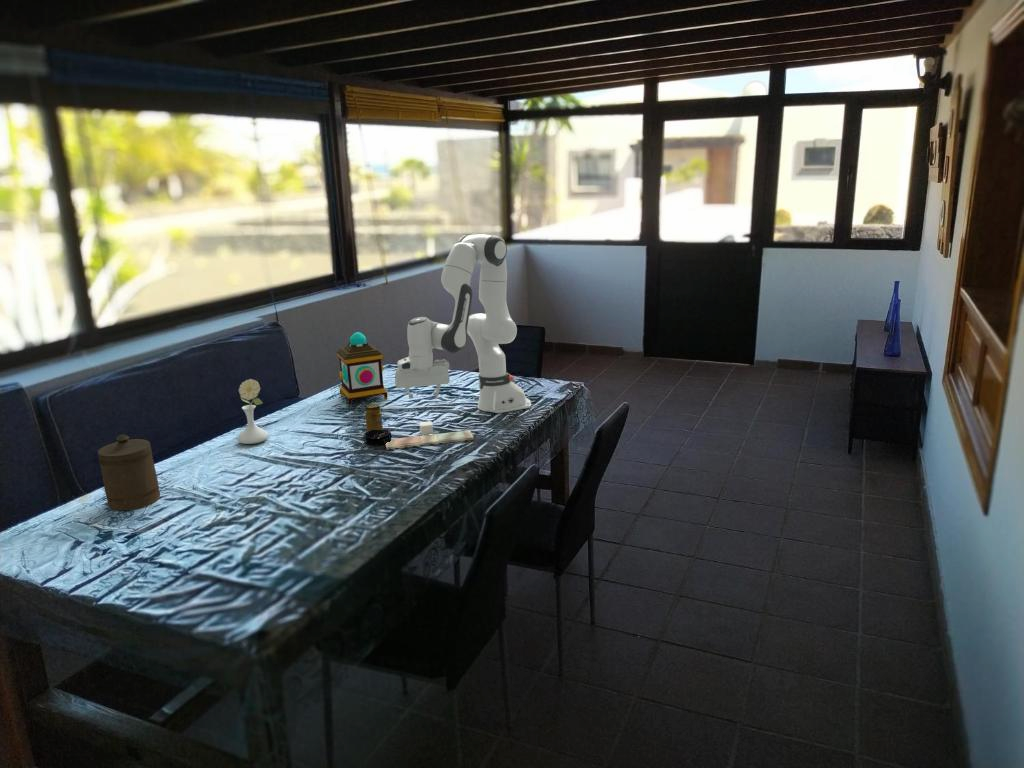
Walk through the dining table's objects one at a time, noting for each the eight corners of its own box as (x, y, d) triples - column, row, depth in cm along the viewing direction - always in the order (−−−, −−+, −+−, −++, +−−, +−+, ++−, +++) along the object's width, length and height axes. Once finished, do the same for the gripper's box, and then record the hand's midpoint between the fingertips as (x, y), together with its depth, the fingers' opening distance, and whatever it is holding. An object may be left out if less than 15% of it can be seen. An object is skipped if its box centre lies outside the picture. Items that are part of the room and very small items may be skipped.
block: (431, 430, 286) (431, 421, 285) (433, 434, 282) (432, 424, 281) (420, 432, 285) (419, 422, 284) (421, 436, 281) (420, 426, 280)
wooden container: (147, 487, 245) (134, 424, 238) (169, 498, 236) (156, 433, 229) (100, 503, 234) (86, 438, 228) (121, 515, 225) (107, 447, 218)
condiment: (378, 431, 288) (376, 401, 285) (390, 436, 282) (387, 406, 278) (362, 435, 284) (359, 406, 280) (373, 441, 277) (370, 411, 274)
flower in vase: (231, 444, 280) (221, 380, 273) (254, 434, 290) (245, 372, 283) (256, 449, 274) (246, 384, 267) (278, 438, 284) (270, 376, 277)
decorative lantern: (336, 395, 336) (329, 330, 327) (379, 388, 344) (373, 325, 335) (346, 407, 318) (339, 339, 310) (391, 400, 326) (385, 333, 318)
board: (470, 432, 282) (470, 429, 282) (473, 439, 275) (473, 436, 274) (385, 442, 276) (384, 439, 276) (386, 449, 268) (386, 446, 268)
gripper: (447, 357, 281) (449, 392, 285) (393, 361, 277) (396, 397, 280) (450, 360, 275) (452, 396, 279) (394, 365, 271) (397, 401, 274)
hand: (423, 396), depth 279 cm, fingers open, 8 cm apart
